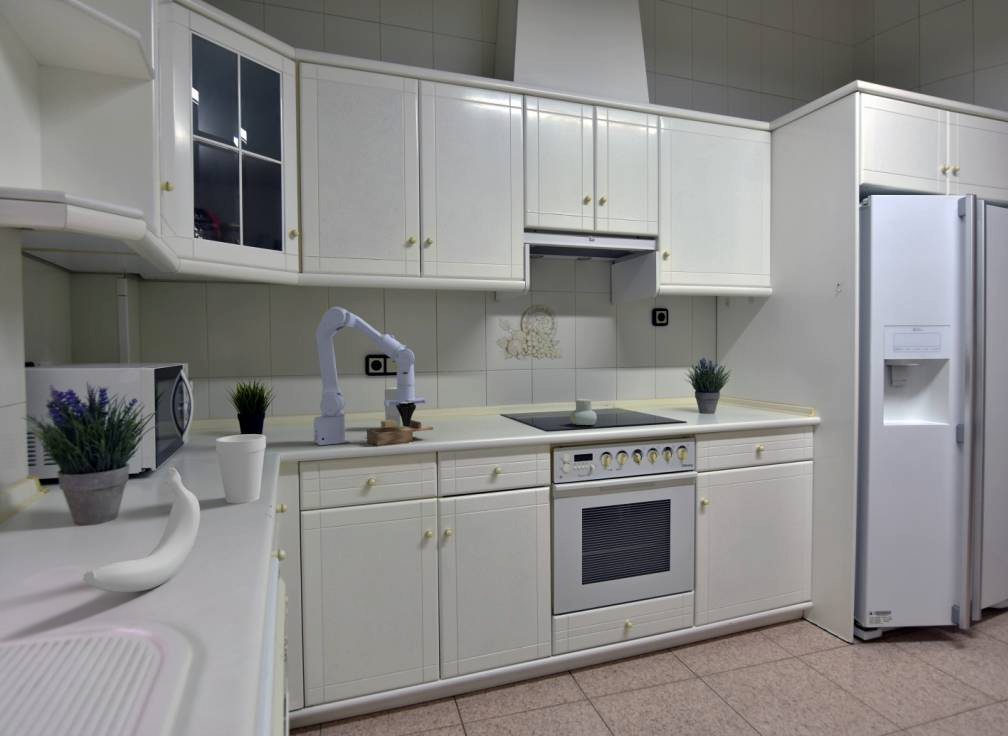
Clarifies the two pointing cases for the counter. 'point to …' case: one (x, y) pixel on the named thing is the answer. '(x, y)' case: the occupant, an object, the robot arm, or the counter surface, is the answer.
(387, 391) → the skincare box
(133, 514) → the counter surface
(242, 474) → the foam cup
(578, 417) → the air freshener
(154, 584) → the banana
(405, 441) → the brown wooden block
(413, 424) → the lid
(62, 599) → the counter surface
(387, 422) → the brown patterned block
